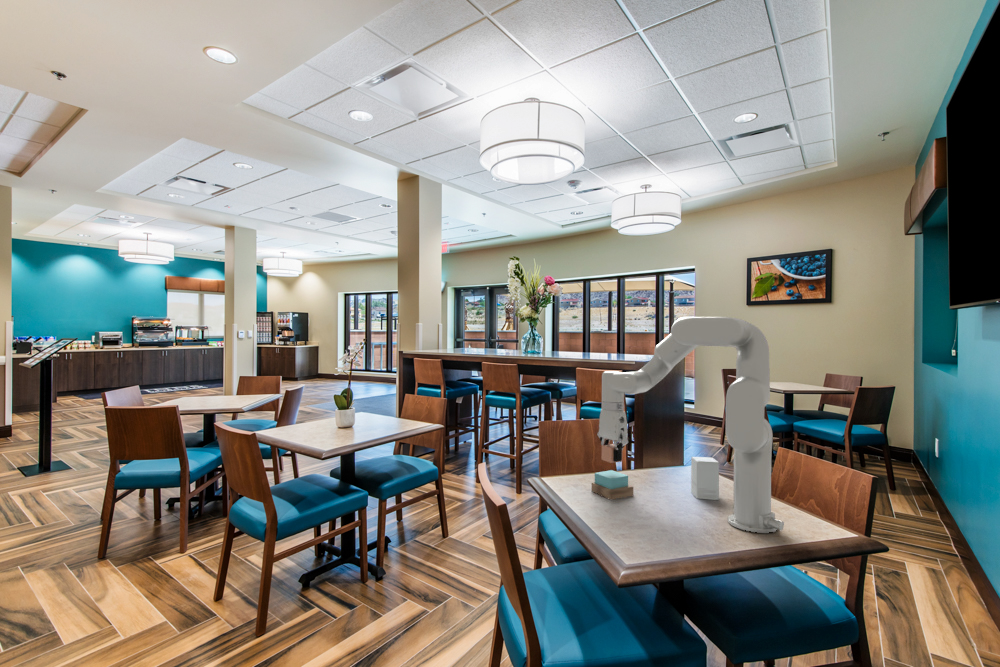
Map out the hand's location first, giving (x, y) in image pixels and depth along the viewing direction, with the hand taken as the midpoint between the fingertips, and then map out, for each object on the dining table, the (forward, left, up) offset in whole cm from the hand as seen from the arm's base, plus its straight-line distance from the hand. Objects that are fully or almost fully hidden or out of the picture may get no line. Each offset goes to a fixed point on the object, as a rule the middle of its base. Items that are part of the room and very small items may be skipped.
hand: (611, 458), depth 162 cm
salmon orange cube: (0, 0, -1) cm, 1 cm away
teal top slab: (0, 0, -9) cm, 9 cm away
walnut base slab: (0, 0, -12) cm, 12 cm away
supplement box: (-16, -27, -12) cm, 34 cm away
